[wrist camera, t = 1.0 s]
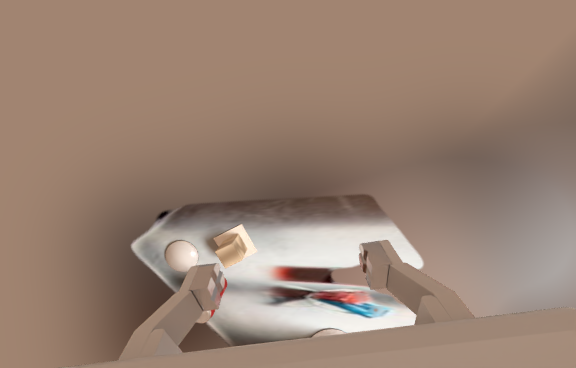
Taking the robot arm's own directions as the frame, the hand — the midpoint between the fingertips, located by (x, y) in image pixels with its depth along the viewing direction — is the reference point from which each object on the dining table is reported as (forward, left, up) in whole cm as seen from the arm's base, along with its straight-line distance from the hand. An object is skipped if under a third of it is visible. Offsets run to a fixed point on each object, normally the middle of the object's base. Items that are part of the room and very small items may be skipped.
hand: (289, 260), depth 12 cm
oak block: (-10, +23, -42) cm, 49 cm away
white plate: (-6, +38, -43) cm, 58 cm away
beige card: (-10, +23, -43) cm, 50 cm away
